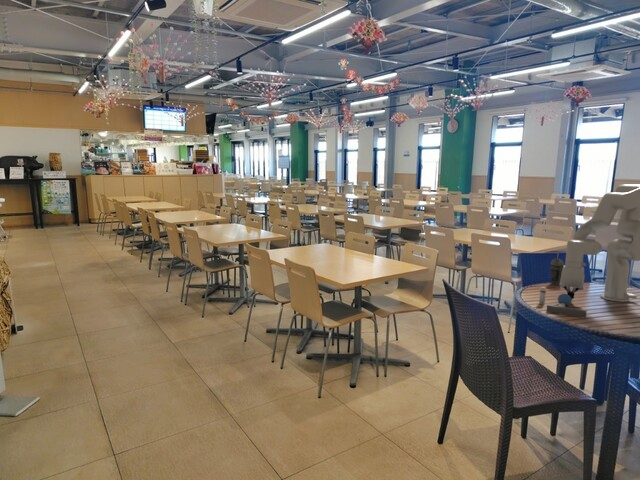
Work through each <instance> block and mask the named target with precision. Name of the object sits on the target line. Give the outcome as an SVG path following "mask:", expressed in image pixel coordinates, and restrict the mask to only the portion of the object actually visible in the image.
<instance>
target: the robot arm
mask: <svg viewBox="0 0 640 480" xmlns="http://www.w3.org/2000/svg"><path fill="white" fill-rule="evenodd" d="M618 211H621V213H620V215H619V219H618V222H617V226H616V229H615V233H616V234H617V236H619V237H622V238H627V239H632V241H631V240H627V239H621V238H619V239H618V238H616V239H612V240H610V241H609V242H608V243H607V247H606V254H607V267H606V274H605V275H606V276H605V283H604V284H605V285H604V293H601V294H600V295H599V297H600V298H601V299H603V300H606V301H610V302H611V301H612V302H617V303H626V302H630V299H635V300H637V299H638V295H637V294H634V293H633V294H632V293H629V292H628V282H629V275H630V263H629V261H634V262H640V184H634V183H633V184H630V183H628V184H626V183H625V184H624V183H623V184H620V185H618V186H617V187H616V188H615V192H607V193H605V194H603V196H602V197H601V200H600V201H599V204H598V206H597V207H596V209H595V211H594V213H593V216H592V217H591V218H590V219H589V220H587V221H586V222H584V223H583V224H582V225H581V226H579V228H578V229H577V230H576V231H575V232H574V235H573V237H572V239H569V240H568V241H567V242H566V252H565V261H564V263H565V264H564V266H563V270H562V274H561V280H560V285H558V286H559V287H560V288H563V289H564V290H565V291H566V292H567V293H566V294H568V295H569V296H570V297H571V301H573V300H574V299H575V293H576V292H578V291H583V290H584V284H585V268H584V267H586V266H587V263H585V262H584V255H588V256H596V255H598V254H600V253H601V252H602V248H603V247H602V244H601V243H600V242H599V241H598V240H594V239H588V236H589V235H590V234H591V233H593V232H595V231H597V230H600V229H604V228H606V227H609V226H610V225H611V223H612V222H613V220H614V218H615V216H616V214H617V212H618ZM571 288H572V290H571Z"/></svg>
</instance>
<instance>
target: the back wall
mask: <svg viewBox="0 0 640 480" xmlns="http://www.w3.org/2000/svg"><path fill="white" fill-rule="evenodd" d="M587 311H588V310H583V309H578V308H571V307H566V306H565V307H560V306H558V305H554V304H547V305H546V313H554V314H559V315H564V316H570V317H571V316H572V317H575V318H582V319H586V318H587Z"/></svg>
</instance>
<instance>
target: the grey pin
mask: <svg viewBox="0 0 640 480" xmlns="http://www.w3.org/2000/svg"><path fill="white" fill-rule="evenodd" d="M546 290H547V287H545V286H541V287H540V291H539V302H538V304H539V305H541V304H543V305H545V303H546V294H547V293H546ZM543 305H542V306H543Z"/></svg>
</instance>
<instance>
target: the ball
mask: <svg viewBox="0 0 640 480" xmlns="http://www.w3.org/2000/svg"><path fill="white" fill-rule="evenodd" d="M557 302H558V305H559V304H561V303H563V304H565V307H566V306H569V305H570V304H571V303H572V300H571V297H570V296H569V295H568V294H567V293H561V294H559V295H558V297H557Z"/></svg>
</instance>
